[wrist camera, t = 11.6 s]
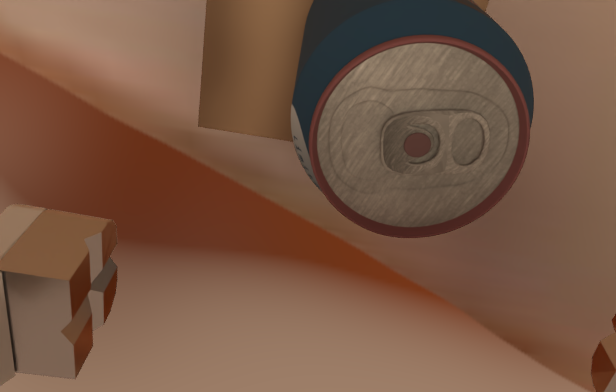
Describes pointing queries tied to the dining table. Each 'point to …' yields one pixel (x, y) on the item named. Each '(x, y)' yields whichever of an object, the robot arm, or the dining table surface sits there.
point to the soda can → (410, 112)
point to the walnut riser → (253, 65)
